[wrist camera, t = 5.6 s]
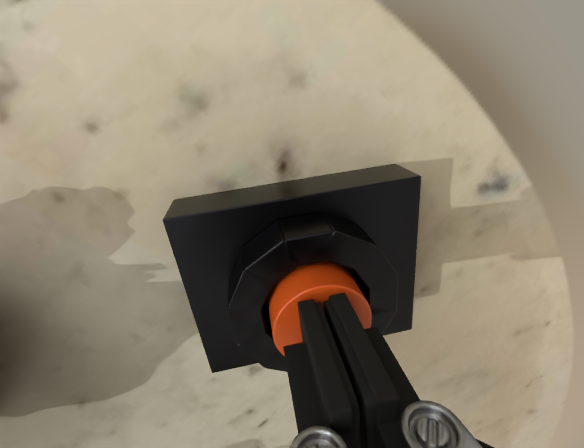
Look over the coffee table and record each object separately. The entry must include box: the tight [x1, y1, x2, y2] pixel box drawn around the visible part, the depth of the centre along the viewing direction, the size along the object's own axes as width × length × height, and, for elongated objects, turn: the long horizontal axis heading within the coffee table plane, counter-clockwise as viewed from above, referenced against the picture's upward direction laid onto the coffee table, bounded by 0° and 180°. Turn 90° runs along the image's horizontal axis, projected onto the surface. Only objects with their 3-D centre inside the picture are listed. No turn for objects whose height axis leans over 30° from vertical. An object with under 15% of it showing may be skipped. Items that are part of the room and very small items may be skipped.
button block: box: [163, 164, 421, 373], centre depth 13 cm, size 10×8×4 cm
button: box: [268, 261, 372, 356], centre depth 12 cm, size 4×4×2 cm
